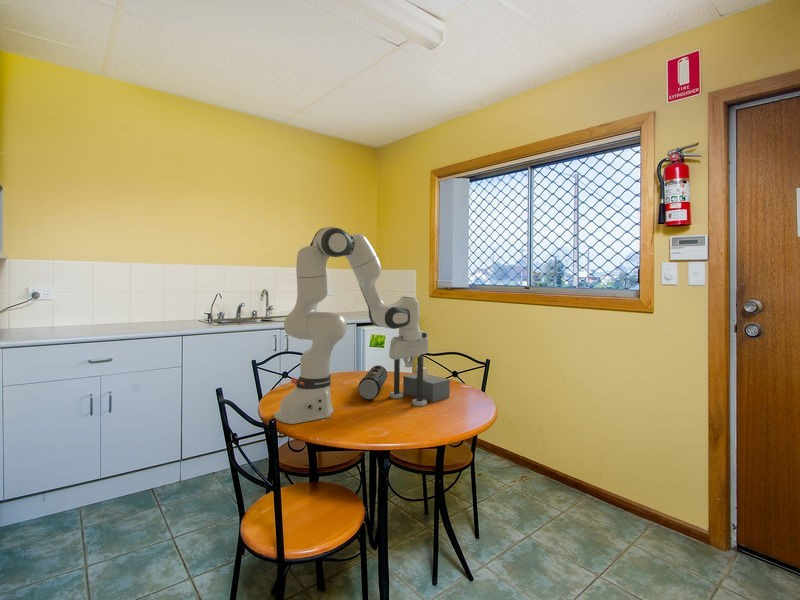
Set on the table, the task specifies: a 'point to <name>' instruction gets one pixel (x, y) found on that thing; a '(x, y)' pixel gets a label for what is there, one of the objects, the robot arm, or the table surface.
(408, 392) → the box
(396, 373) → the post
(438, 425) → the table surface
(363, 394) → the muzzle brake
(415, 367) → the breaker switch
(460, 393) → the table surface
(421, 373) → the right cord post
